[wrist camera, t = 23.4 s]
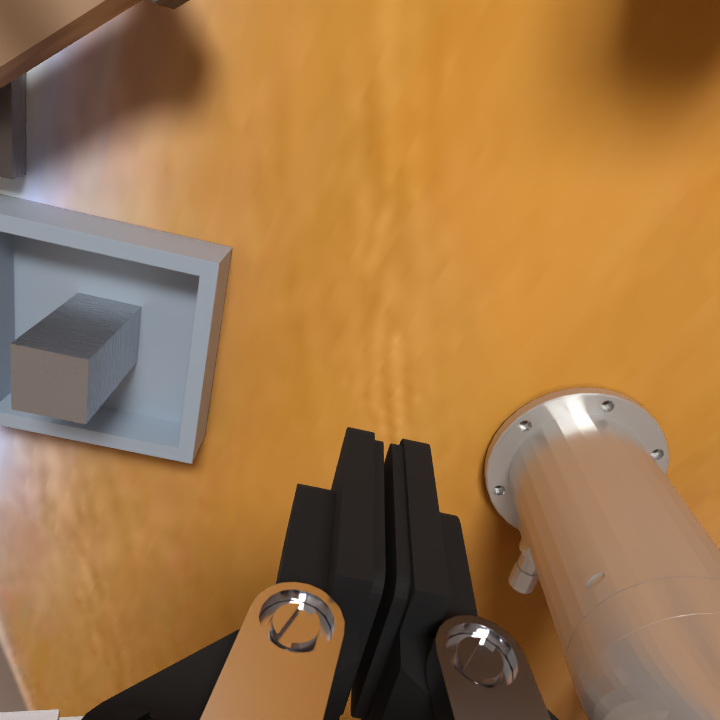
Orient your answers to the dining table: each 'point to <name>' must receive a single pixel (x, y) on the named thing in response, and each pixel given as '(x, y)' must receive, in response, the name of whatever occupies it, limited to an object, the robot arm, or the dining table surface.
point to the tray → (129, 285)
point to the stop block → (74, 358)
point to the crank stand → (13, 128)
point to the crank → (51, 28)
